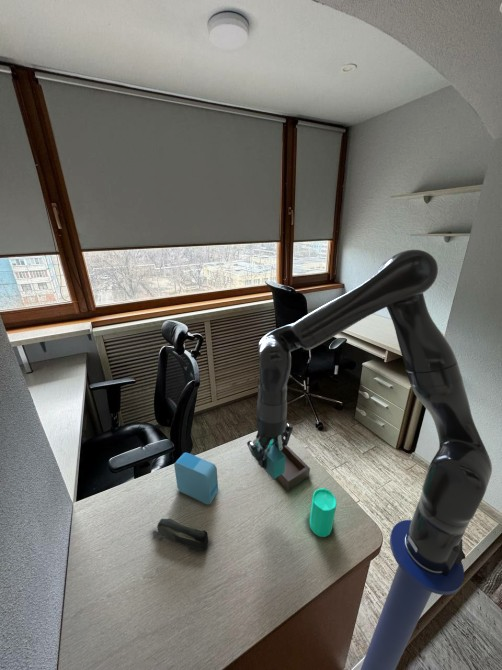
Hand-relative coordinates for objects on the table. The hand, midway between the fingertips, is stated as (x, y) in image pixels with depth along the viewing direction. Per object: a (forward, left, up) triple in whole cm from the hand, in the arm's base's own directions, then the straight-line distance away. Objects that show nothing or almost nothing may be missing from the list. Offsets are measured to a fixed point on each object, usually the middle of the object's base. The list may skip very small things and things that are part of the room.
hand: (269, 462), depth 74 cm
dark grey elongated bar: (+13, +22, -15) cm, 30 cm away
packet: (0, 0, -1) cm, 1 cm away
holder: (+4, -14, -15) cm, 21 cm away
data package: (+19, +10, -15) cm, 26 cm away
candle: (-15, -2, -15) cm, 22 cm away
